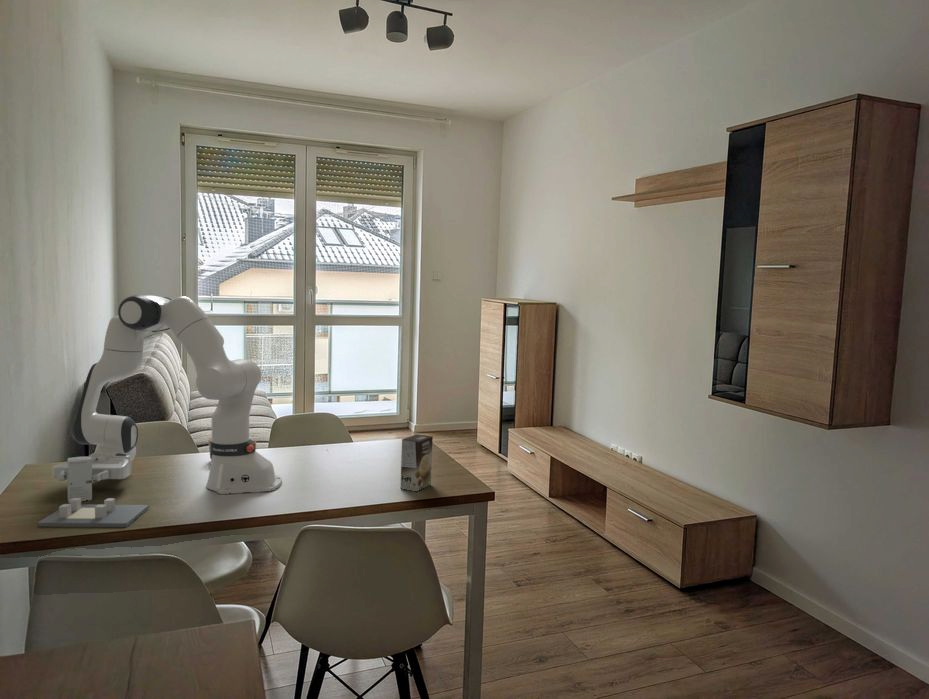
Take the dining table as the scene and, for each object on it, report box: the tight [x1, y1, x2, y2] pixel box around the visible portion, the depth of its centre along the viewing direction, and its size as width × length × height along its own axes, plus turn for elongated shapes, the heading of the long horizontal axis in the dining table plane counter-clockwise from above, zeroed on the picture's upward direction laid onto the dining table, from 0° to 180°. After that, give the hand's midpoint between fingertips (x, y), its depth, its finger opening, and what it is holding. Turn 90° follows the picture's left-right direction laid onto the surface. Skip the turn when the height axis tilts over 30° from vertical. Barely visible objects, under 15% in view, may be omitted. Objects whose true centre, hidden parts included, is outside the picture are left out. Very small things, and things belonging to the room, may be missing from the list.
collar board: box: [37, 497, 150, 528], centre depth 175 cm, size 22×14×4 cm, turn 94°
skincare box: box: [66, 455, 93, 504], centre depth 187 cm, size 6×4×12 cm
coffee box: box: [400, 434, 433, 492], centre depth 208 cm, size 9×6×16 cm
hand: (78, 478), depth 187 cm, fingers open, 8 cm apart
